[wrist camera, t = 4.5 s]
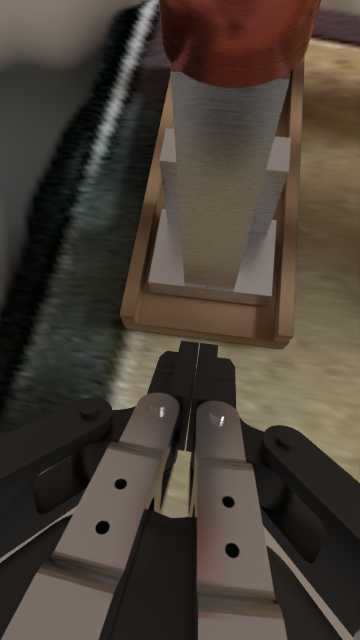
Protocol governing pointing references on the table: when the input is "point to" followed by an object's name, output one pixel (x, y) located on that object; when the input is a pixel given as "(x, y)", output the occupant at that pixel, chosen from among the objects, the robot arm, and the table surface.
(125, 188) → the table surface
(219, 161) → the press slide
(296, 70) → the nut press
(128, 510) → the robot arm
